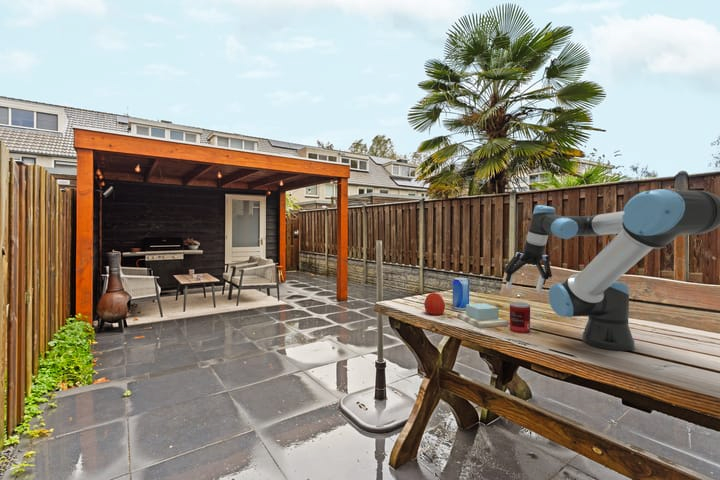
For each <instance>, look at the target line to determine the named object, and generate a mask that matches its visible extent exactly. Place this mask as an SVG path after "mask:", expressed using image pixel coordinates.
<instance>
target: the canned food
mask: <svg viewBox="0 0 720 480" xmlns="http://www.w3.org/2000/svg"><path fill="white" fill-rule="evenodd" d="M509 330H510V331H511V332H514V333H517V334H528V333H530V332H531V331H530V330H531V304H530V303H527V302H521V301H512V302H509Z"/></svg>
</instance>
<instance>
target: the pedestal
mask: <svg viewBox="0 0 720 480" xmlns="http://www.w3.org/2000/svg"><path fill="white" fill-rule="evenodd" d="M499 310H500V309H499V307H498V306H494V305H491V304H489V303H469V304H466V310H465V313H466V315H467V316H469V317H471V318H473V319H476V320H478V321H481V320H494V319H499V318H500V317H499V315H500V314H499Z"/></svg>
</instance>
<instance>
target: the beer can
mask: <svg viewBox="0 0 720 480" xmlns="http://www.w3.org/2000/svg"><path fill="white" fill-rule="evenodd" d="M466 304H470V282H469V281H468V278H466V277H455V278H454V279H453V281H452V307H453V309H454V310H456V311H466Z"/></svg>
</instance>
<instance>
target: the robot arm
mask: <svg viewBox="0 0 720 480" xmlns="http://www.w3.org/2000/svg"><path fill="white" fill-rule="evenodd" d="M719 226H720V197H719V196H718V195H716V194H715V193H712V192H710V191H709V192H708V191H705V190H698V189H697V190H696V189H692V190H677V189H676V190H671V189H663V188H662V189H654V190H653V189H651V190H645V191H642V192H639V193H638V194H636V195H634V196H632V197H631V198H630V199H629V200H628V201H627V203H626V204H625V205H624V207H623V210H621V211H614V212H608V213H607V212H606V213H600V214H593V215H585V216H584V215H581V216H580V215H579V216H576V215H575V216H574V215H571V216H569V215H567V216H565V215H559V214H556V208H555V207H553V206H549V205H548V206H547V205H542V204H538V205H535V206H534V209H533V212H532V214H531V219H530V224H529V228H528V232H527V235H526V238H525V240H526V241H525V242H524V247H523V252H522V253H521V252H518V251H515V253H514V255H513V257H511V260H510V261H509V262H508V263H507V264H506V265H505V267H504V268H503V270H502V271H503V272H504V273H505V274H506V276H505V281H506V284H505V288H506V289H507V290H508V291H510V290H511V288H512V283H513V280H514V274H515V273H516V272H517V271H518V270H520V269H521V268H523V267H524V266H526V265H530V266H531V265H532V266H535V267H536V269H537V270H538V272H539V274H540V276H539V275H538V280H537V284H536V288H535V291H536V292H537V293H542V290H543V286H545V284H546V280H549V278H552V277H553V276H552V275H553V274H552V270H551V265H550V256H549V255H547V254H544V252H545V249H546V245H547V242H548V239H549V235H553V236H555V237H557V238H560V239H563V240H568V239H569V240H570V239H572V238H574V237H579V236H580V237H600V236H604V235H605V236H606V235H615V236H614V237H613V239H611V241H610V242H608V244H606V245H605V247H604V248H603V249H602V250H601V251H600V252H599V253H598V254H597V255H596V256H595V257H594V258H593V259H592V261H590V262H589V263H588V264H587V265H586V267H584V268H583V269H582V271H581V272H580V273H573V274H572V275H570V276H568V278H567V279H566V280H565V281H564V282H562V283H559V282H557V283H553V284H551V286H550V288H549V289H548V302H549V304H550V307H551V309H552V310H553V312H554V313H555V314H556V315H557V316H560V317H562V318H573V317H575V318H576V317H577V318H579V317H588V319H587V322H586V325H585V326H584V327H585V328H584V330H583V332H582V337H581V338H582V342H584V343H586V344H587V345H589V346H591V347H596V348H600V349H604V350H608V351H609V350H610V351H620V352H621V351H622V352H623V351H625V352H627V351H633V350H634V349H635V340H634V338H633V335H632V332H631V327H630V325H629V318H630V317H629V315H630V314H629V313H630V312H629V308H630V295H631V294H630V292H629V291H630V290H629V286H628V284H627V283H625V282H623V281H618V280H619V278H621V277H622V276H623V275H624V274H626V273H627V272H628V271H629V270H630V269H631V268H632V267H634V265H636V264H637V263H638V262H639V261H641V259H643V258H644V257H645V256H646V255H648V253H650V252H651V251H652V250H653V249H656V250H657V249H663V248H665V247H666V246H667V245H669V244H670V243H671V242H672V241H674V240H675V239H676V238H678V237H679V236H684V235H686V236H691V235H692V236H693V235H701V234H706V233H709V232H711V231H713V230H716V229H717V228H718V227H719ZM541 261H542V263H543V266H542V263H541Z"/></svg>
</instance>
